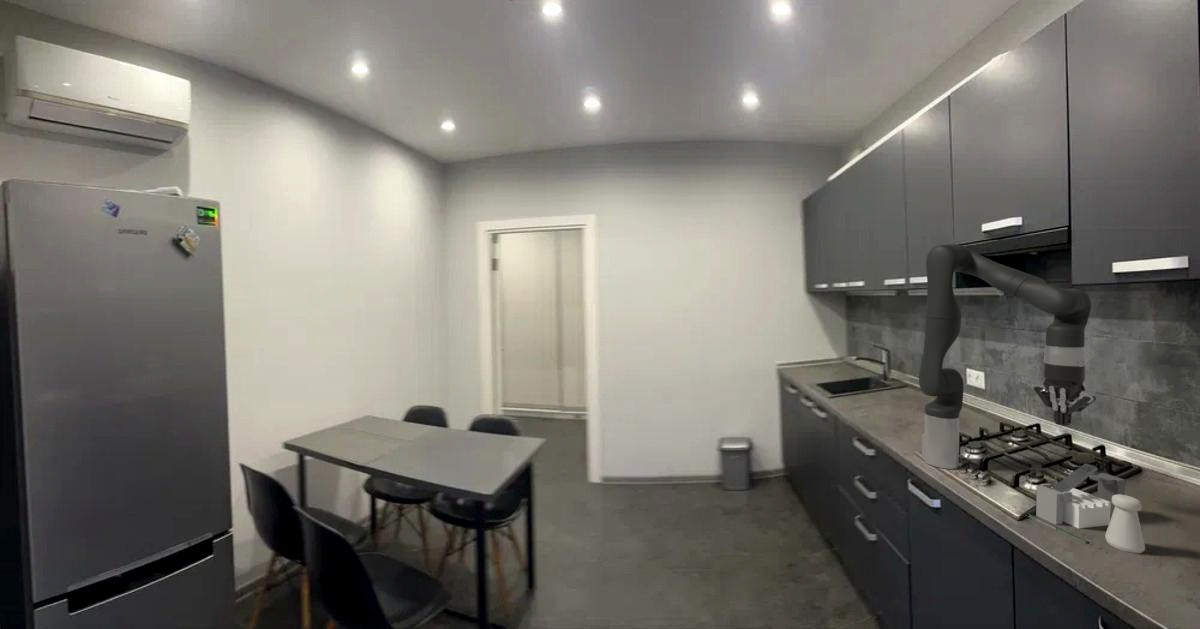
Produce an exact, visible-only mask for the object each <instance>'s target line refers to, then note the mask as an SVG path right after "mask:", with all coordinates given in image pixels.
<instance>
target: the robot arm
mask: <svg viewBox="0 0 1200 629" xmlns="http://www.w3.org/2000/svg"><path fill="white" fill-rule="evenodd" d="M925 264H926V265H925V266H926V268H925V270H926V281H927V284H926V285H927V286H926V287H927V294H926V312H925V321H924V322H925V324H924V340H923V341H924V342H923V352H922V358H921V362H920V363H921V364H920V368H919V373H918V374H919V375H918V384H919V388H920V391H921V392H922V393H923V394H924V395H926V396H929V397H936V398H935V399H933V400H932V401H931V402H929V403H927V404H925V405H924V432H922V434H921V459H922V460H924V462H925V463H927V464H928V465H930V466H933V467H935V468H940V469H948V470H950V469H951V470H952V469H958V468H959V467H960V466H959V465H960V464H959V463H960V458H959V457H960V456H959V455H960V412H962V409H963V401H964V389H965V388H964V387H965V386H964V380H963V377H962V375H961V373H960V372H959V371H958V370H957V369H954V368H949V367H947V368H945V367H943V363H944V359H945V356H946V354H947V352H948V351H949V350H950V349H951V347H952V345H953V344H954V343H955V341H957V338H958V337H959V335H960V332H961V325H962V311H961V307H960V304H959V303H958V300H957V298H956V296H955V292H954V288H953V281H954V273H956V272H957V273H962V274H966V275H971V276H974V277H976V278H978V279H981V280H983V281H984V282H985V283H987V284H989V285H990V286H991V287H993V288H994V289H996V290H998V291H1000V292H1002V293H1004V294H1007V295H1010V296H1011V297H1014V298H1018V299H1020V300H1023V301H1025V302H1026V303H1028V304H1029V305H1031V306H1033V307H1034V308H1036V309H1039V311H1042V312H1045V313H1047V314H1050V315H1054V316H1053V322H1052V323H1050V324H1049V325H1048V326H1047V327H1046V329H1045V347H1044V352H1043V377H1044V378H1045V379H1044V380H1043V382H1042V384H1041V385H1039V386H1034V387H1033V390H1034V392H1035V393H1036V395H1037V396H1038V397H1039V398H1040V400H1041V401H1042V402H1043V404H1044V406H1045V407H1048V408H1050V409H1052V410H1053V421H1054V422H1055V424H1056V425H1058V426H1062V427H1067V426H1068V427H1069V426H1070V425H1071V424H1072V413H1080V412H1082V411H1083V410H1085V409H1086V408H1087V407H1089V406H1090V405H1091V404H1092V403H1094V402H1095V401H1096V400H1097V397H1096V396H1094V395H1090V394H1089V393H1088V392H1086V388H1085V386H1084V382H1085V380H1086V378H1085V376H1086V351H1085V350H1086V349H1085V330H1086V326H1087V324H1088V321H1089V318H1090V315H1091V310H1092V300H1091V296H1089V294H1088V293H1087V292H1085V291H1084V290H1083V289H1079V288H1060V287H1056V286H1054V285H1051V284H1048V283H1047V282H1046V281H1045V279H1043V278H1040V277H1038V276H1036V275H1033V274H1031V273H1030V274H1029V273H1027V272H1024V271H1021V270H1019V269H1016V268H1013V267H1010V266H1006V265H1005V264H1001V263H998V262H996V261H994V260H991V259H990V258H987V257H985V256H983V255H981V254H979V253H978V252H976V251H975V250H972V249H970V248H968V247H966V246H964V245H962V244H958V243H956V244H954V243H951V244H939V245H935V246H934V247H932V248H931V249H930V250H929V252H928V253H927V255H926V260H925ZM1077 399H1078V400H1077Z"/></svg>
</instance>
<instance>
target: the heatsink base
mask: <svg viewBox="0 0 1200 629" xmlns="http://www.w3.org/2000/svg"><path fill="white" fill-rule="evenodd" d="M1048 487H1050V488H1052V487H1053V486H1052V484H1051V483H1041V484H1040V485H1037V486H1036V506H1035V507H1036V509H1035V511H1036V512H1035V513H1036V514H1035V515H1033V514H1030V513H1029V512H1027V513H1028V514H1029V516H1028V517H1029V518H1031V519H1033V520H1035V521H1036V522H1039V523H1040V524H1043V525H1044V526H1047V527H1049V528H1052V529H1053V530H1056V531H1058V532H1060V533H1063V534H1065V535H1067V536H1068V537H1071V538H1073V539H1076V540H1077V541H1080V542H1082V543H1084V544H1085V545H1086V544H1091V542H1090V541H1088V540H1086V539H1084V538H1082V537H1080V536H1078V535H1075V534H1074V533H1071V532H1069V531H1067V530H1065V529H1062V528H1060V527H1059V526H1058V525H1063V523H1065V524H1068V525H1070V526H1072V527H1074V528H1076V529H1086V528H1094V527H1105V526H1109V523H1110V520H1111V514H1110V507H1111V502H1109V501H1106V500H1104V499H1101V498H1099V497H1098V496H1095V495H1093V494H1091V493H1089V492H1086V491H1085V492H1084V491H1082V490H1080V489H1077V488H1075V487H1074V488H1073V489H1071V490H1070V491H1068V492H1061V493H1060V492H1057V491H1055V490H1052V489H1050V488H1048ZM1013 507H1015V508H1017V506H1014V505H1013V506H1012V508H1013ZM1047 521H1048V522H1047ZM1056 525H1057V526H1056Z"/></svg>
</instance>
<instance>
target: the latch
mask: <svg viewBox="0 0 1200 629" xmlns="http://www.w3.org/2000/svg"><path fill="white" fill-rule="evenodd" d="M1091 480H1092V481H1096V482H1097V497H1099V498H1101V499H1104V500H1106V501H1109V502H1111V507H1110V516H1112V514H1113V511H1114V508H1115V505H1113V504H1112V496H1113V495H1116V494H1121V495H1125V494H1126V492H1125V491H1126V479H1123V478H1120V477H1117V476H1115V475H1111V474H1108V473H1106V472H1105V473H1103V472H1101V473H1098V474H1095V475H1094V474H1092V475H1091Z"/></svg>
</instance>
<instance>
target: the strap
mask: <svg viewBox="0 0 1200 629" xmlns="http://www.w3.org/2000/svg"><path fill="white" fill-rule="evenodd" d="M1097 471H1098V468H1097V466H1095V465H1093V464H1090V463H1084V464H1083V465H1081V466H1080V467H1078V468H1077V469H1075V470H1074V471H1073V472H1071V473H1070V474H1068V475H1067V476H1066V477H1064V479H1062V480H1060V481H1059V482H1057V483H1056V484H1055V485H1054V486H1051V487H1052V488H1050V487H1048V488H1050V489H1052V490H1055V491H1057V492H1060V493H1061V492H1068V491H1070V490H1071V489H1073V488H1075V487H1077V486H1078V485H1079V484H1081V483H1082V482H1083V481H1085V480H1086V479H1088V478H1089V477H1091V476H1093V475H1094V474H1095V473H1096V472H1097Z"/></svg>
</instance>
